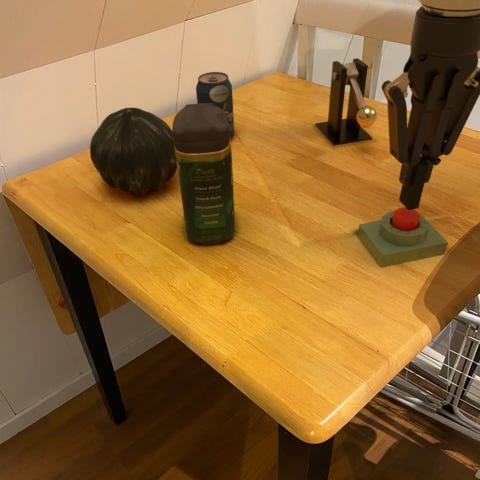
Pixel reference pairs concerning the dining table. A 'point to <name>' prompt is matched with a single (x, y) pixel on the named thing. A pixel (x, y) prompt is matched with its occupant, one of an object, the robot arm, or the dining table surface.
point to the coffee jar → (205, 172)
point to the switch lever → (359, 98)
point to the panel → (400, 241)
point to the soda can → (217, 94)
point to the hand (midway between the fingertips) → (408, 204)
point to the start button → (405, 219)
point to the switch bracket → (337, 127)
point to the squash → (134, 151)
